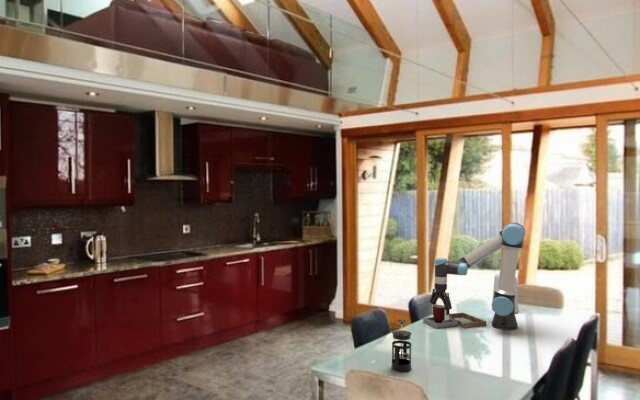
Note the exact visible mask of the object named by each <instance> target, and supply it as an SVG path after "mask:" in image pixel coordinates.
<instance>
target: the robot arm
mask: <svg viewBox="0 0 640 400" xmlns="http://www.w3.org/2000/svg"><path fill="white" fill-rule="evenodd" d="M525 236H526V229H525V227H524V226H523V225H522V224H521V223H518V222H511V223H508V224H507V225H506V226H504V227H503V229H502V230H501V231H499V232H498V235H496V236H494V237H493V238H491V239H490V240H488V241H486V242H485V243H483V244H481V245H479V247H477V248H475V249H474V250H472V251H470V252H469V253H467V254H466V255H464V256H463V257H461V258H459V259H457V260H456V261H455V262H454V261H453V262H451V261H448V259H447V258H445V257H436V258H435V259H434V288H433V289H432V293H431V295H430V299H429V303H430V304H431V316H433V305H437V301H438V300H439V299H441V301H442V304H443V306H445V320H449V314H450V310H452V309H453V307H452V302H451V298H450V293H449V292H446V290H448V284H447V283H448V275H453V276H454V275H456V276H467V274H468V270H469V269H470V268H471V267H473V266H474V265H476V264H478V263H479V262H481V261H482V260H484V259H485V258H487V257H489V256H491V255H492V254H493V253H495V252H497V251H499V250H501V249H502V248H503V251H502V256H501V264H500V269H499V274H500V275H499V282H498V288H497V289H495V291H494V297H493V296H492V300H493V301H491V309H493V310H492V311H493V312H494V314H493V316H492V317H493V318H492V320H491V326H492V327H493V328H495V329H500V330H505V331H506V330H510V331H512V330H517V329H518V328H519V325H518V322H517V317H516V314H515V291H514V290H513V288H514V281H515V276H516V274H517V268H518V267H517V266H518V262H519V261H518V259H519V255H520V254H519V253H520V251H521V250H522V249H523V247H524V246H523V245H524V239H525Z"/></svg>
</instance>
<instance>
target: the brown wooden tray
mask: <svg viewBox="0 0 640 400" xmlns="http://www.w3.org/2000/svg"><path fill="white" fill-rule="evenodd" d="M449 318H450V319H452V320H454V321H457V322H458V327H461V329H465V330H466V329H474V328H481V327H487V320H484V319H481V318H479V317H476V316H473V315H471V314H468V313H465V312H456V313H449ZM462 318H463V319H465V320H468V321H471V322H463V321H461V320H458V319H462Z"/></svg>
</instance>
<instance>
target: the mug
mask: <svg viewBox="0 0 640 400" xmlns="http://www.w3.org/2000/svg"><path fill="white" fill-rule="evenodd" d="M432 317H433V318H434V320H435V322H436V323H442V321H443V320H445V319H444V317H445V306H444V304H443V305H442V304H436V305H433V315H432Z"/></svg>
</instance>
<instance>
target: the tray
mask: <svg viewBox="0 0 640 400" xmlns="http://www.w3.org/2000/svg"><path fill="white" fill-rule="evenodd" d="M444 319H445V317H444ZM422 320H423V321H422V323H423V324H424V325H427V326H429V327H431V326H432V327H431V328H433V327H434V328H433V329H436V330H441V329H448V328H457V327H459V326H458V322H457V321H454V320H452V319H450V318H449V320H443V321H442V323H436V322H435V320H434V318H433V316H432V317H422Z"/></svg>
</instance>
